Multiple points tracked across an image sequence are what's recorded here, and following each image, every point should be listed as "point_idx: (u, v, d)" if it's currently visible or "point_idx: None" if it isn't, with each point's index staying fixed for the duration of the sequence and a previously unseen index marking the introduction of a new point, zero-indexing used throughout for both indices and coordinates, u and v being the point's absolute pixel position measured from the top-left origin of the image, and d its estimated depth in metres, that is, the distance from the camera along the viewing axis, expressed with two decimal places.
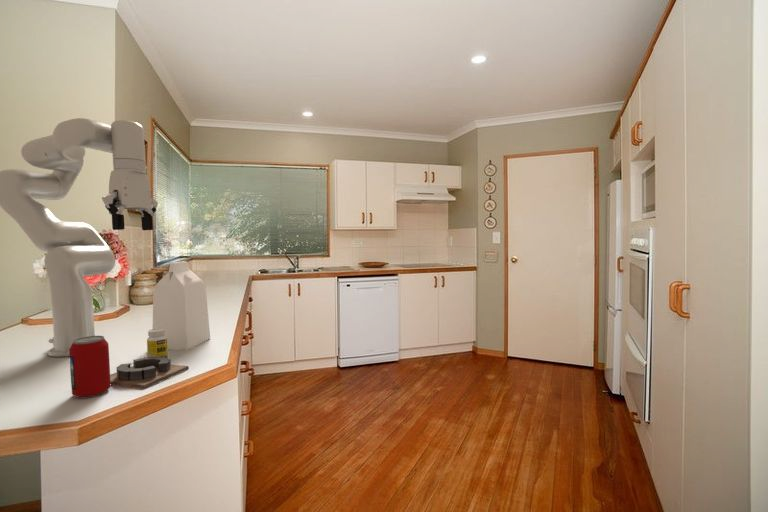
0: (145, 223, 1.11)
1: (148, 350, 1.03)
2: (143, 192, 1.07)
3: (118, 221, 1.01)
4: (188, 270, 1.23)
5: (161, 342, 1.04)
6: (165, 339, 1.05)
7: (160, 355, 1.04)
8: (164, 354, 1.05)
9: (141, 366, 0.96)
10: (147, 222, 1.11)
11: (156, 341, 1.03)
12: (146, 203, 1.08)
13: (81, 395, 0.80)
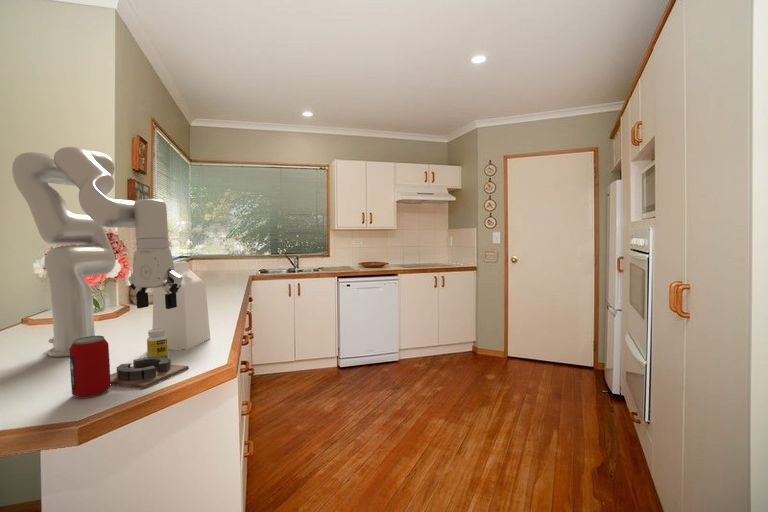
0: (143, 300, 1.05)
1: (148, 350, 1.03)
2: None
3: None
4: (188, 270, 1.23)
5: (161, 342, 1.04)
6: (165, 339, 1.05)
7: (160, 355, 1.04)
8: (164, 354, 1.05)
9: (141, 366, 0.96)
10: (145, 299, 1.06)
11: (156, 341, 1.03)
12: None
13: (81, 395, 0.80)
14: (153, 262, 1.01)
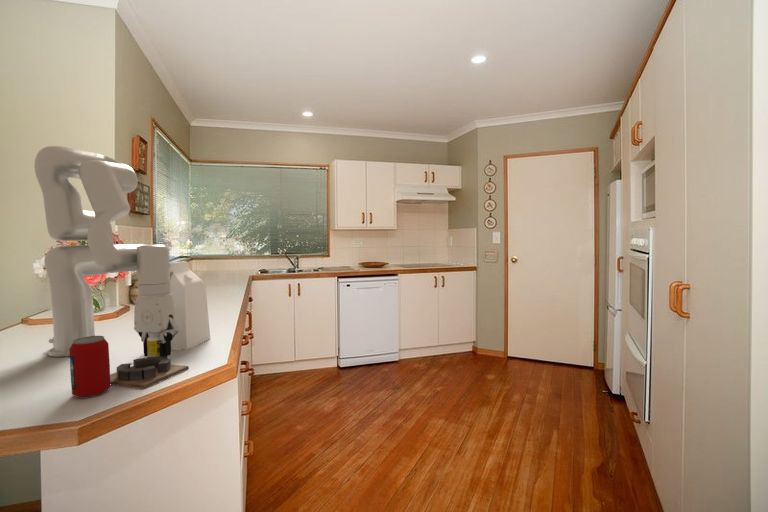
0: None
1: (148, 350, 1.03)
2: None
3: None
4: (188, 270, 1.23)
5: (161, 342, 1.04)
6: None
7: None
8: None
9: (141, 366, 0.96)
10: None
11: (156, 341, 1.03)
12: None
13: (81, 395, 0.80)
14: (154, 308, 1.01)
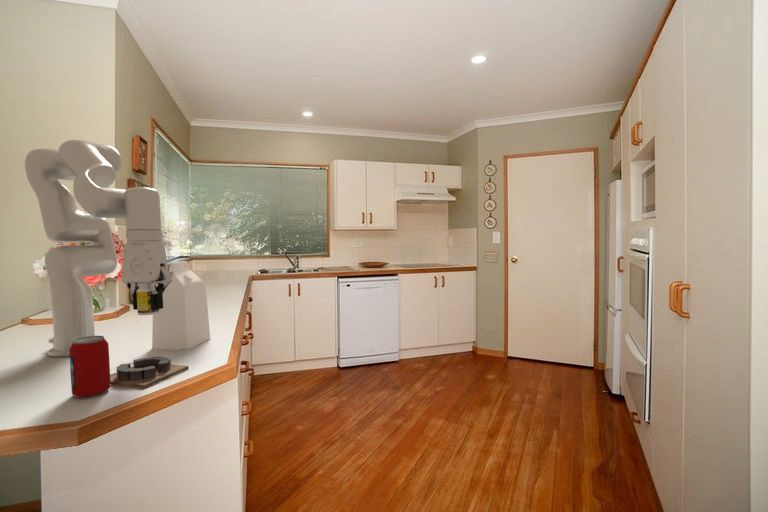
0: None
1: (138, 302, 0.95)
2: None
3: None
4: (188, 270, 1.23)
5: None
6: None
7: None
8: None
9: (141, 366, 0.96)
10: None
11: (147, 292, 0.95)
12: None
13: (81, 395, 0.80)
14: (145, 255, 0.93)
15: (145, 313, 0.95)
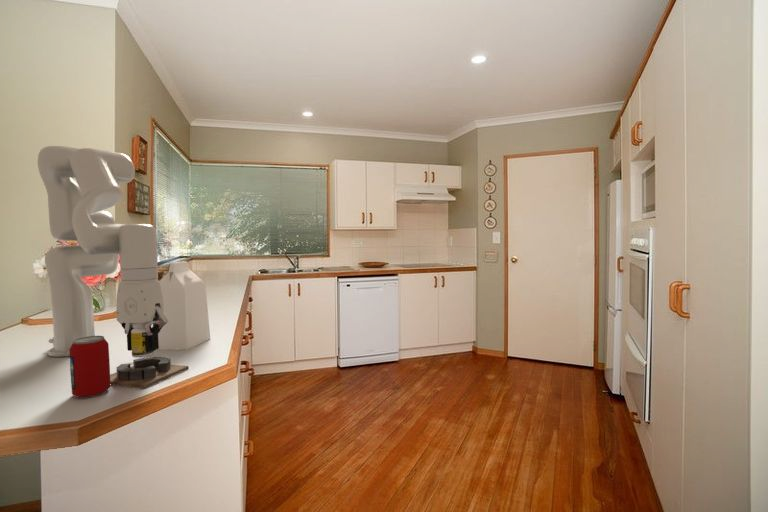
0: None
1: (132, 343, 0.91)
2: None
3: None
4: (188, 270, 1.23)
5: None
6: None
7: None
8: None
9: (141, 366, 0.96)
10: None
11: (141, 333, 0.91)
12: None
13: (81, 395, 0.80)
14: (139, 296, 0.89)
15: (139, 355, 0.91)
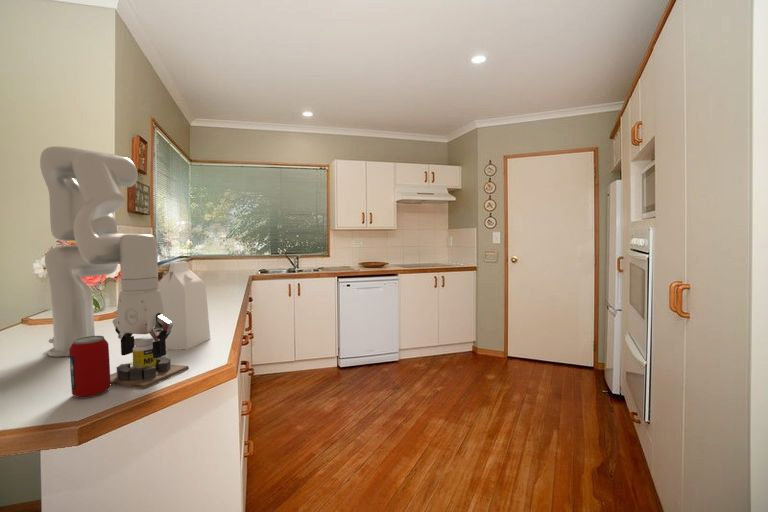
0: (128, 346, 0.94)
1: (134, 361, 0.91)
2: None
3: None
4: (188, 270, 1.23)
5: (148, 352, 0.92)
6: None
7: None
8: None
9: None
10: (131, 344, 0.95)
11: (143, 351, 0.91)
12: None
13: (81, 395, 0.80)
14: (140, 306, 0.89)
15: None
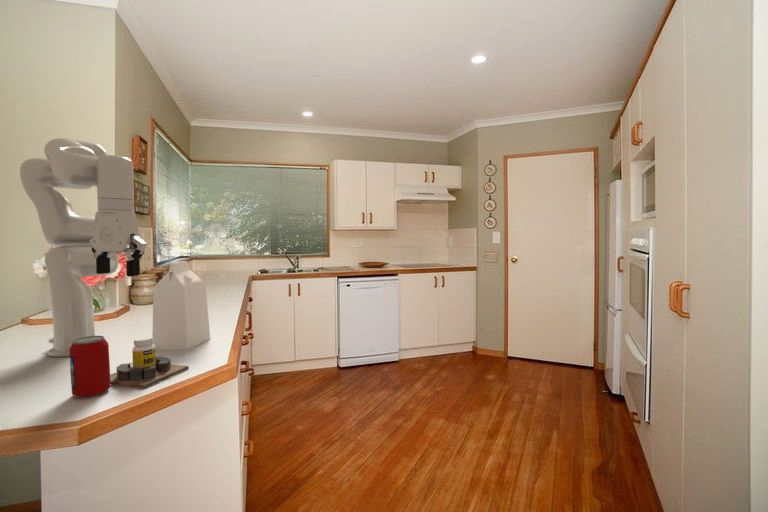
0: (103, 266, 0.98)
1: (133, 361, 0.91)
2: None
3: None
4: (188, 270, 1.23)
5: (148, 353, 0.92)
6: (153, 349, 0.93)
7: None
8: None
9: None
10: (106, 264, 0.98)
11: (143, 351, 0.91)
12: None
13: (81, 395, 0.80)
14: (115, 225, 0.93)
15: None
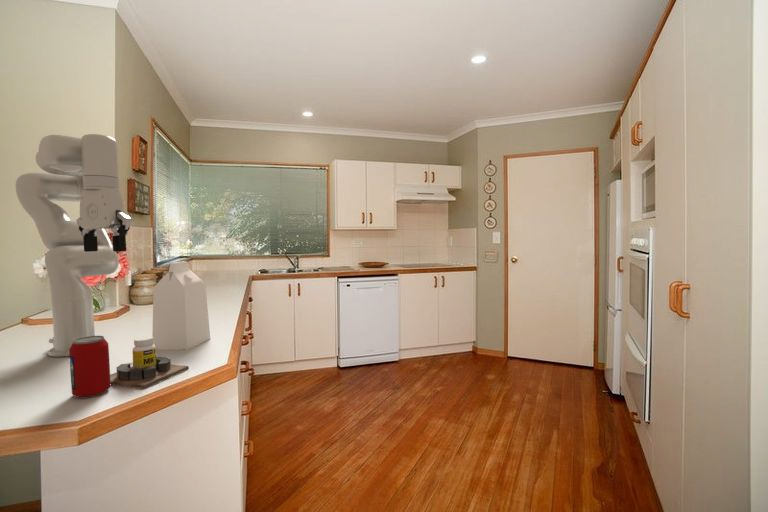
0: (91, 244, 1.00)
1: (134, 361, 0.91)
2: None
3: None
4: (188, 270, 1.23)
5: (148, 353, 0.92)
6: (153, 349, 0.93)
7: None
8: None
9: None
10: (93, 242, 1.01)
11: (143, 351, 0.91)
12: None
13: (81, 395, 0.80)
14: (100, 201, 0.95)
15: None
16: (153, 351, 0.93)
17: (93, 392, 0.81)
